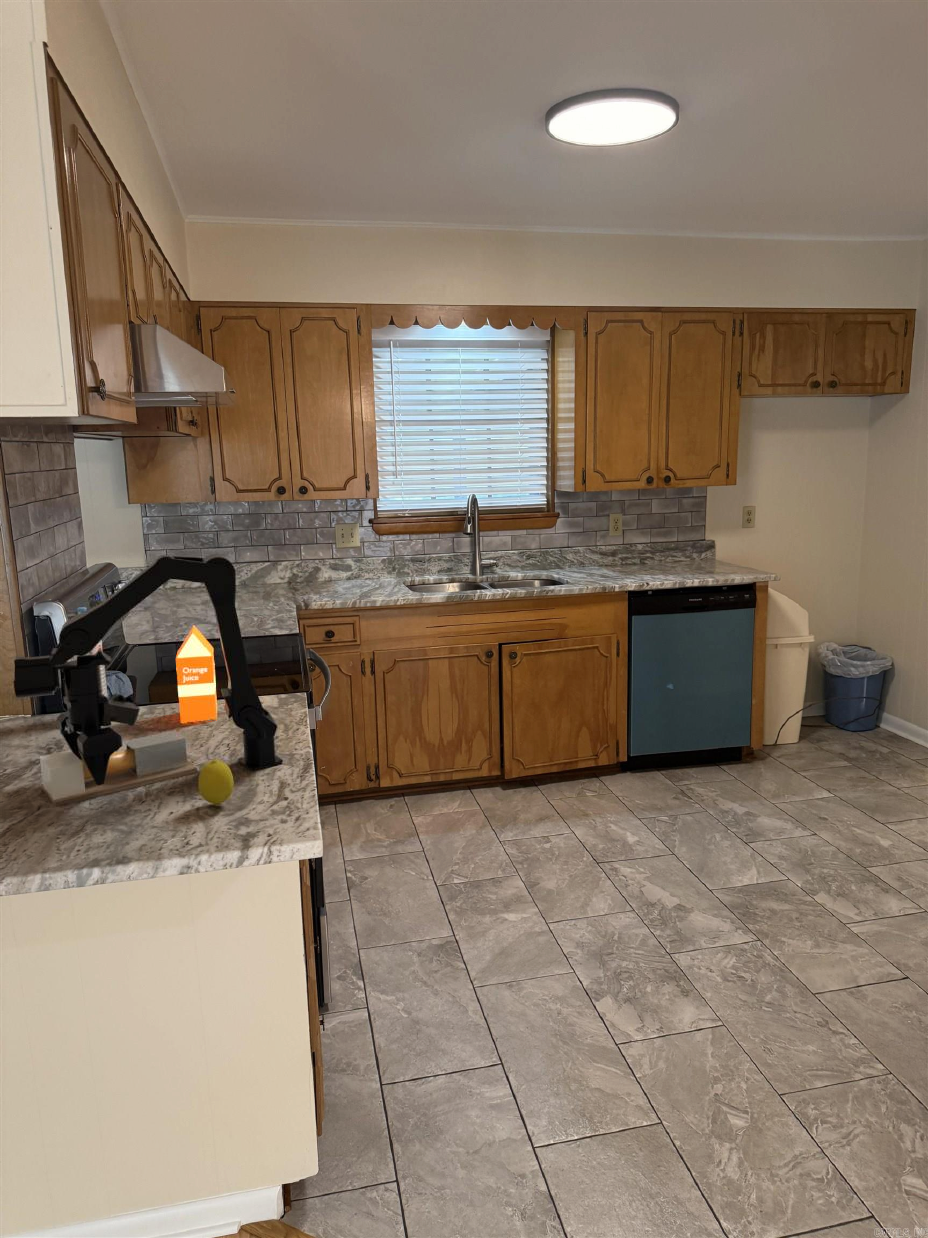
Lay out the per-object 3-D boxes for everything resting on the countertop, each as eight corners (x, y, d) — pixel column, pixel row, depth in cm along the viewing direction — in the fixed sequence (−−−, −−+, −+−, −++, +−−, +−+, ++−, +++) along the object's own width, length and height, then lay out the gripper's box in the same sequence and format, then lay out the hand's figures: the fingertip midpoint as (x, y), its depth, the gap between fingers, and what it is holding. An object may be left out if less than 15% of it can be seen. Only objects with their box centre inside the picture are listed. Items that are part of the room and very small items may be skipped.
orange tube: (143, 769, 149) (141, 750, 149) (65, 787, 142) (63, 767, 141) (136, 763, 152) (135, 745, 152) (60, 781, 144) (58, 761, 144)
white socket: (85, 792, 142) (82, 762, 141) (53, 800, 139) (50, 769, 138) (73, 778, 148) (70, 750, 147) (42, 785, 145) (39, 756, 144)
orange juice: (180, 723, 181) (173, 633, 177) (182, 712, 189) (175, 625, 185) (217, 720, 183) (211, 631, 179) (218, 709, 191) (212, 623, 187)
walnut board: (197, 772, 153) (197, 768, 152) (55, 806, 138) (55, 802, 138) (178, 757, 160) (177, 753, 160) (42, 788, 146) (41, 784, 146)
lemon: (222, 796, 141) (218, 751, 140) (241, 804, 138) (238, 758, 136) (193, 807, 137) (189, 761, 136) (213, 815, 134) (209, 768, 132)
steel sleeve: (187, 765, 153) (185, 737, 152) (137, 777, 148) (134, 748, 147) (176, 757, 158) (174, 730, 157) (127, 768, 152) (125, 740, 151)
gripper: (149, 694, 141) (157, 781, 144) (116, 672, 155) (124, 752, 158) (79, 706, 134) (88, 797, 137) (51, 683, 148) (61, 766, 151)
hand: (93, 776), depth 146 cm, fingers open, 9 cm apart
